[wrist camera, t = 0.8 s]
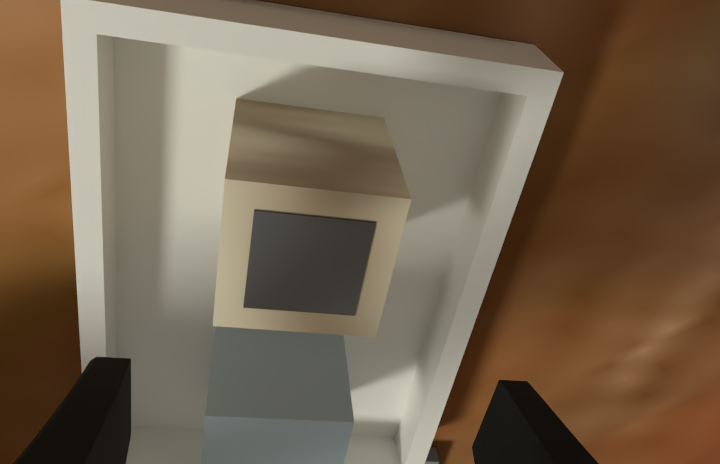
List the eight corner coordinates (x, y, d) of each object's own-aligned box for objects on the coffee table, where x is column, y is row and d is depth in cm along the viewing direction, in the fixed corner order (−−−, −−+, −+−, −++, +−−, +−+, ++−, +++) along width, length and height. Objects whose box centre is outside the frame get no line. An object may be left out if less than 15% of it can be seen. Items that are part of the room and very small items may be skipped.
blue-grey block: (210, 396, 26) (197, 509, 22) (217, 307, 24) (205, 415, 19) (322, 401, 27) (331, 511, 23) (341, 316, 24) (354, 422, 20)
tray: (406, 438, 29) (416, 487, 27) (102, 426, 27) (87, 478, 25) (534, 44, 20) (563, 72, 18) (86, -27, 18) (59, -5, 16)
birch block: (225, 225, 22) (212, 327, 18) (236, 98, 19) (224, 180, 15) (357, 238, 23) (376, 338, 18) (384, 117, 20) (412, 200, 16)
